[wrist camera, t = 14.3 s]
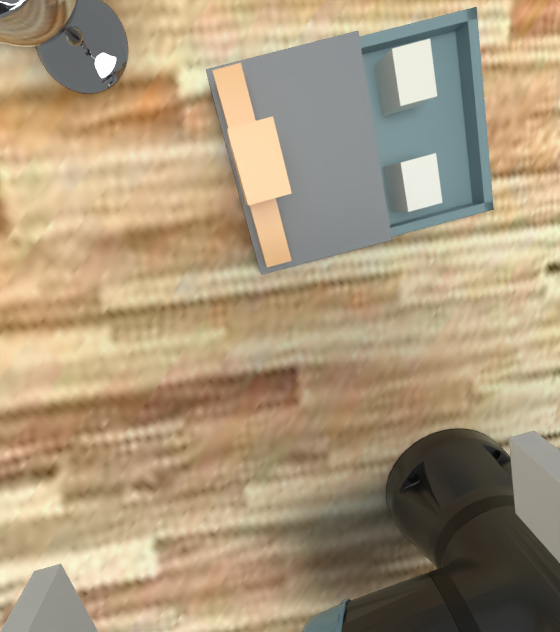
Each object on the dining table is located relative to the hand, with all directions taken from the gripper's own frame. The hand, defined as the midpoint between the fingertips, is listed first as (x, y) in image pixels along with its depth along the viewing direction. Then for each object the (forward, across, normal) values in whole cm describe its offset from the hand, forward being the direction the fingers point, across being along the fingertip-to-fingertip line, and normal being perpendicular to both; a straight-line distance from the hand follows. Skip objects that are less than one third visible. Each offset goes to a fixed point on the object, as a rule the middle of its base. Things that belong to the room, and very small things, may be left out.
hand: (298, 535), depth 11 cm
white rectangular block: (+26, -15, -15) cm, 34 cm away
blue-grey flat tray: (+29, -18, -11) cm, 36 cm away
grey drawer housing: (+29, -7, -11) cm, 32 cm away
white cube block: (+26, -14, -7) cm, 31 cm away
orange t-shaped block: (+25, -2, -11) cm, 27 cm away
